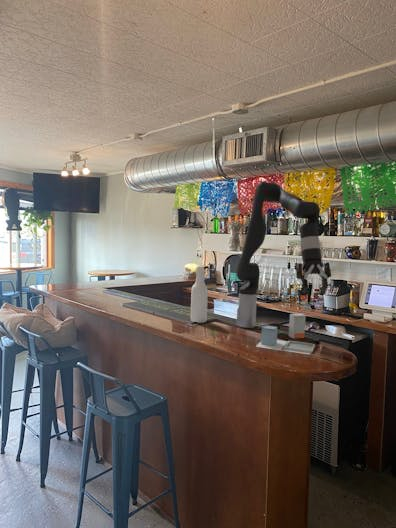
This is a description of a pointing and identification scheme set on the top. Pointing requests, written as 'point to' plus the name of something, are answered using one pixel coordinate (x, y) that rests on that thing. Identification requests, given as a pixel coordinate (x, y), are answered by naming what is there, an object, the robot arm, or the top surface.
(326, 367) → the top surface
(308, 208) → the robot arm
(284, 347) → the board
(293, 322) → the skincare box
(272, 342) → the blue-grey block
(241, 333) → the top surface
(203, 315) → the alcohol
